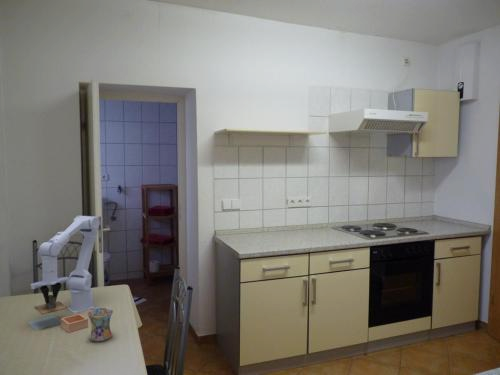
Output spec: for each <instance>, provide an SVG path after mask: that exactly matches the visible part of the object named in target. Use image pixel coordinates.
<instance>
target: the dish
mask: <svg viewBox="0 0 500 375" xmlns="http://www.w3.org/2000/svg"><path fill="white" fill-rule="evenodd" d="M60 320H61V324H60V327H61V328H62V329H63V330H64V331H65V332H67V333H68V334H69V333H70V334H71V333H73V332H76V331H79V330H82V329H88V327H89V319H88V318H87V317H86V316H85V315H83V314H82V313H77V314H76V313H75V314H73V315H69V316H65V317H61V318H60Z"/></svg>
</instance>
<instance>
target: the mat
mask: <svg viewBox="0 0 500 375" xmlns="http://www.w3.org/2000/svg"><path fill="white" fill-rule="evenodd" d="M27 324H29V326H30V327H32V328H33V329H34V330H35V331H39V330H42V329H46V328H49V327H53V326H54V327H55V326H56V325H61V318H58V317H57V316H56V315H50V316H47V317H42V318H37V319H35V320H31V321H28V322H27Z"/></svg>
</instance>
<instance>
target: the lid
mask: <svg viewBox="0 0 500 375" xmlns="http://www.w3.org/2000/svg"><path fill="white" fill-rule="evenodd" d="M48 297H49V303H46V302H45V303H44V304H39V305H35V306H34V307H33V308H34V309H35V310H36V311H37V312H38V313H40V315H48V314H52V313H55V312H58V311H62V310H67V309H68V306H66V305H65V304H64V303H62V301H59V300H57V299H56V298H55V297H54V296H53V294H49V295H48Z"/></svg>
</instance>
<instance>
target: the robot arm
mask: <svg viewBox="0 0 500 375" xmlns="http://www.w3.org/2000/svg"><path fill="white" fill-rule="evenodd" d="M99 227H100V220H99V218H98V217H97V216H96V215H95V216H91V215H80V214H78V215H77V216H76V217H75V218H73V221H72V223H71V224H70V225H69V226H68V227H66V229H65V230H63V231H58V232H56V234H55V235H54V236H52V238H50V239H49V240H48V241H46V242H45V241H44V242H43V243H41V244H40V245H39V248H38V250H37V251H38V254H39V256H40V260H41V270H42V280H39V281H36V282H33V283H30V289H31V290H35V289H38V288H39V290H40V291H41V293H42V295H43V298H44V302H45V304H46V303H49V297H48V295H50V294H49V293H50V288H49V287H48V286H51V290H52V295H53V296H54V297H55V298H56V300H57V299H58V295H59V292H60V291H61V289H62V284H63V283H64V284H65V283H66V288H67V289H68V290H69V292H70V306H69V307H67V309H68V310H69V311H71V312H72V313H74V314H76V313H77V314H78V313H79V312H83V311H84V312H85V311H88V310H93V309H95V305H94V291H93V289H92V288H91V286H92V278H93V275H92V274H91V273H90V271H89V267H90V262H91V259H92V254H93V250H94V247H95V242H96V238H97V235H98V232H99ZM78 232H79V233H81V234H82V235H83V238H82V243H81V248H80V251H79V255H78V258H77V262H76V267H75V269H74V270H72V271H71V272H70V273H69V276H63V277H59V276H58V255H59V254H60V253H61V250H62V248H63V247H64V246H65V245H67V244H68V243H69V241H70V237H72V236H73V235H74V234H76V233H78Z"/></svg>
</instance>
